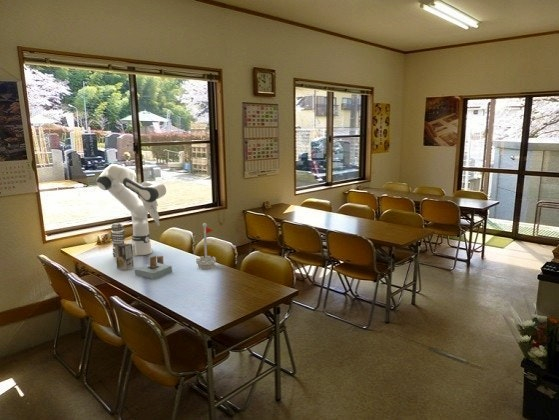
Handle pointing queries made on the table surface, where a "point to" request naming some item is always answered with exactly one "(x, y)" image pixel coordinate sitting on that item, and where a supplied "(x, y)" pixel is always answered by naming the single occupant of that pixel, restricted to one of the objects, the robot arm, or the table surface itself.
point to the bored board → (153, 271)
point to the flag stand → (207, 261)
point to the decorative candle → (117, 236)
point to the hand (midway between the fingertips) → (158, 224)
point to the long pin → (153, 262)
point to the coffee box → (124, 256)
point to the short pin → (160, 259)
